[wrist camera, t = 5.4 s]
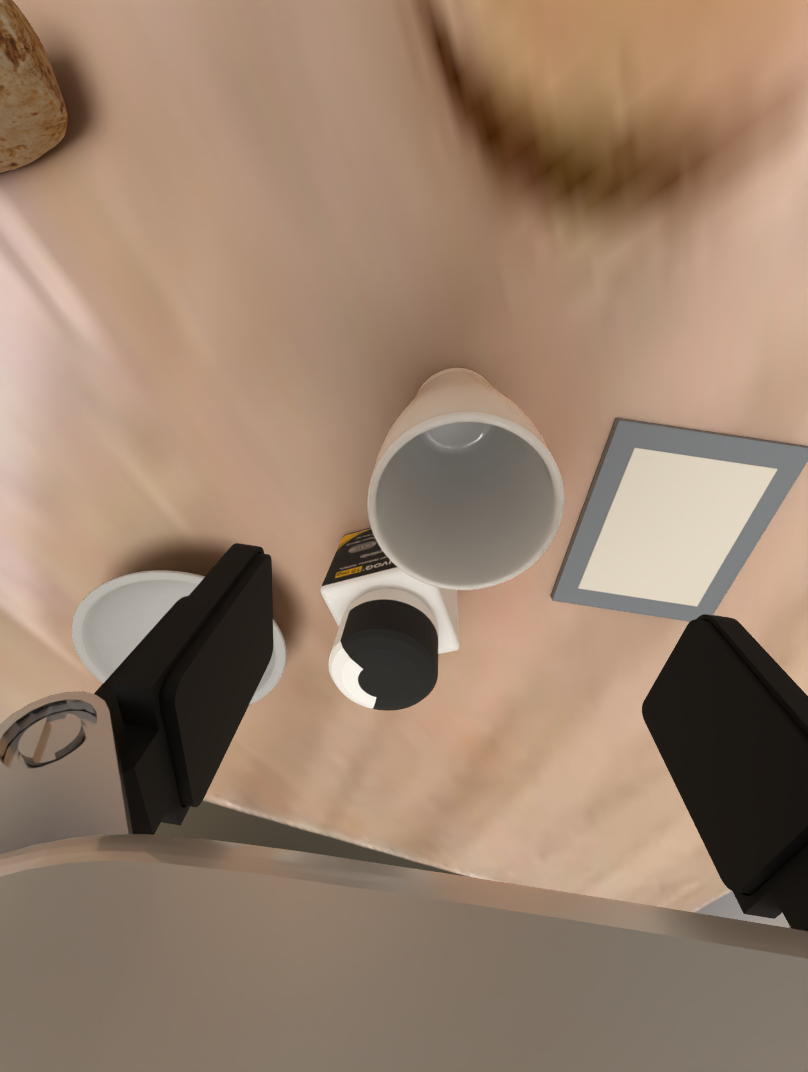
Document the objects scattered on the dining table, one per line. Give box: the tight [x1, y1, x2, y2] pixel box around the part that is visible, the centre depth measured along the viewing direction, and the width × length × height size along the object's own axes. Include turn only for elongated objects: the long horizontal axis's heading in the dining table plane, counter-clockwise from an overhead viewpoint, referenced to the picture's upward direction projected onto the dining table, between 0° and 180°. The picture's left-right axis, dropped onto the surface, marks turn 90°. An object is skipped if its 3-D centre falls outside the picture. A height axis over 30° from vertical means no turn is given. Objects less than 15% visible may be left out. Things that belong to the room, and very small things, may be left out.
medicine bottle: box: [320, 528, 459, 710], centre depth 28 cm, size 7×7×12 cm
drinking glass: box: [367, 368, 564, 590], centre depth 21 cm, size 7×7×15 cm
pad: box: [551, 418, 808, 622], centre depth 30 cm, size 14×12×1 cm
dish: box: [72, 570, 287, 705], centre depth 35 cm, size 18×14×5 cm
